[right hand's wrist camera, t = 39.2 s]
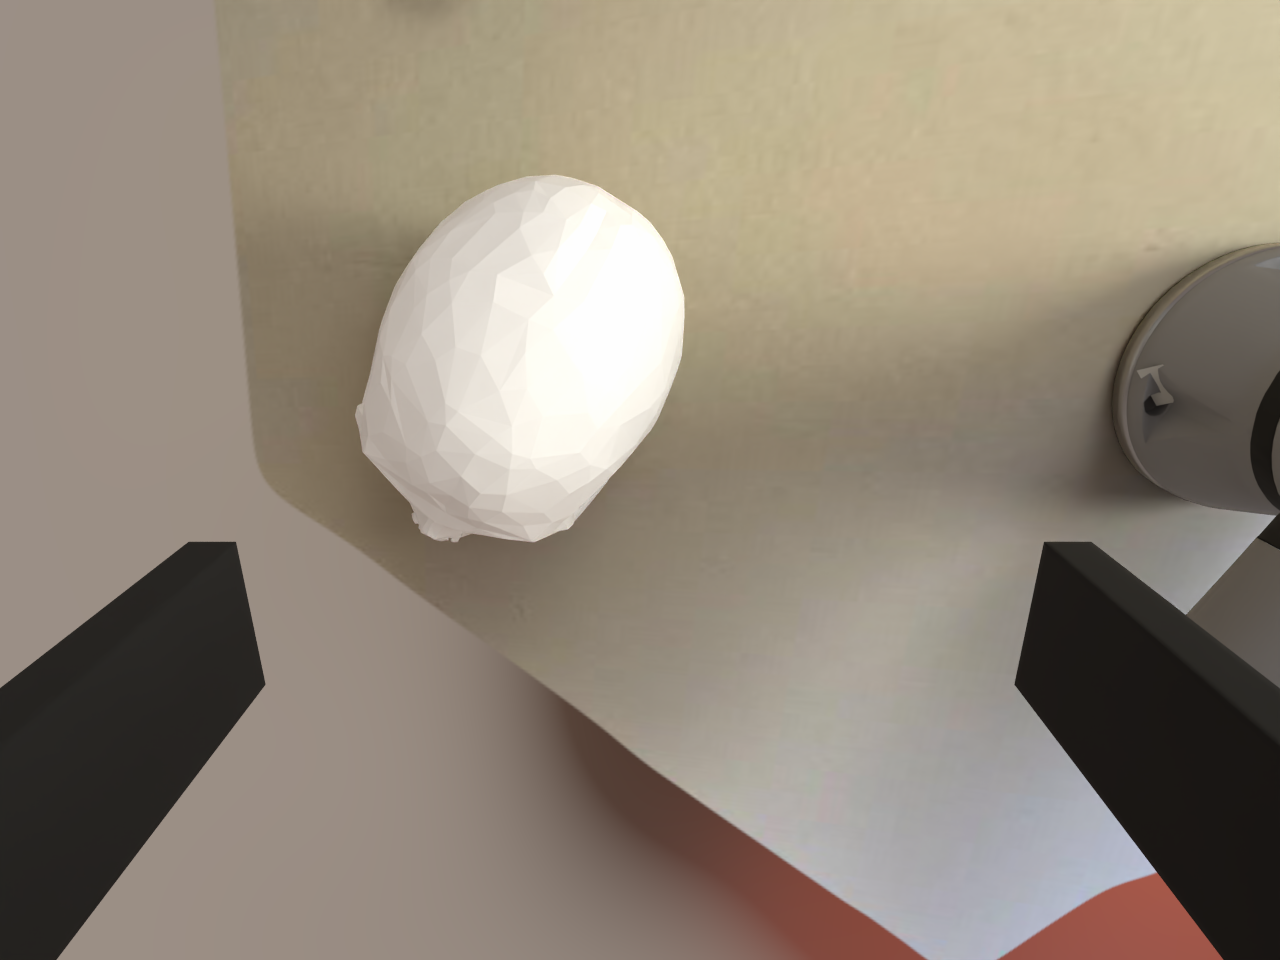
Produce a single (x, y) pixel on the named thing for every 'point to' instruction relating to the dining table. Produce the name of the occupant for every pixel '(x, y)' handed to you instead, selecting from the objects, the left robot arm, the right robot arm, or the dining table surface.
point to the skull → (522, 359)
